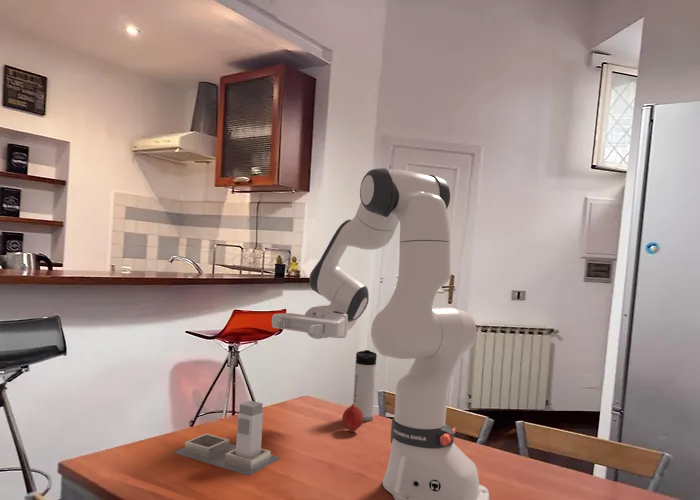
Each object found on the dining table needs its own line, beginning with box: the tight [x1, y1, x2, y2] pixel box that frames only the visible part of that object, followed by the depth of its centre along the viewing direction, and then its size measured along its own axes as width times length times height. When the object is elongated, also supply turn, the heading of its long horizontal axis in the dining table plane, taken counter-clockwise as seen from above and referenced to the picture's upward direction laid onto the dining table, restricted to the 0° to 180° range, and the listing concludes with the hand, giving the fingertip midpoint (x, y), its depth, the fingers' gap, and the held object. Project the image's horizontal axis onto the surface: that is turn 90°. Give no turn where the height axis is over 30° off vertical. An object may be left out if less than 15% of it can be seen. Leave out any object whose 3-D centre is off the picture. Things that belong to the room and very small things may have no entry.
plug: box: [235, 400, 264, 460], centre depth 121 cm, size 4×5×13 cm
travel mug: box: [352, 349, 378, 422], centre depth 161 cm, size 6×7×20 cm
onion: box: [342, 402, 364, 433], centre depth 148 cm, size 6×6×8 cm
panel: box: [172, 433, 281, 477], centre depth 124 cm, size 22×12×3 cm, turn 63°
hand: (292, 327), depth 135 cm, fingers open, 8 cm apart
